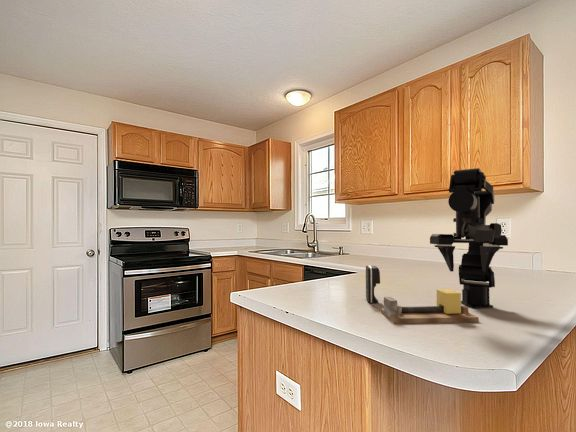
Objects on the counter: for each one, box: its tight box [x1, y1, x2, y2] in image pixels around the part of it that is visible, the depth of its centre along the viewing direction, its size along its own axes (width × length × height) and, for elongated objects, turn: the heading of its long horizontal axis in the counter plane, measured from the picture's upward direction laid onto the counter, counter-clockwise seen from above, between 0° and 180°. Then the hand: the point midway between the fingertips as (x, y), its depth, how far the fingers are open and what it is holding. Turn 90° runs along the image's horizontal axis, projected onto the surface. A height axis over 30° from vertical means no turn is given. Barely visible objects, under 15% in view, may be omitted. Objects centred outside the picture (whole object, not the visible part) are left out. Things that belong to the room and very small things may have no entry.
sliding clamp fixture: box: [380, 296, 480, 324], centre depth 85 cm, size 22×10×5 cm, turn 93°
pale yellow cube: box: [436, 288, 462, 314], centre depth 86 cm, size 4×5×5 cm
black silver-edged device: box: [365, 264, 381, 304], centre depth 103 cm, size 7×4×11 cm, turn 174°
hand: (468, 271), depth 86 cm, fingers open, 9 cm apart
